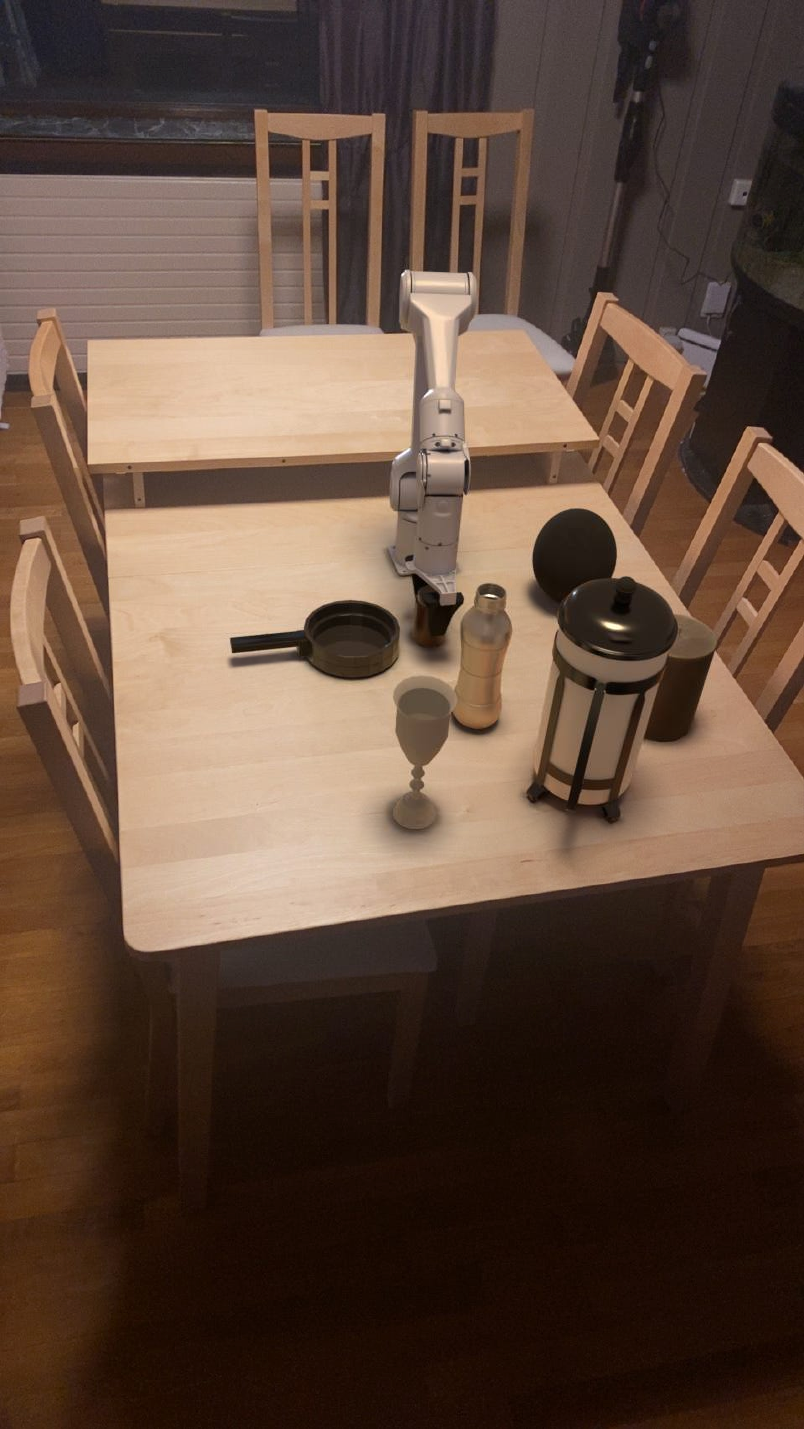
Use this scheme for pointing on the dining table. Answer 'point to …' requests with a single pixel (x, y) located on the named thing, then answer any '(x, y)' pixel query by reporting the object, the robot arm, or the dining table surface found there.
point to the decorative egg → (573, 552)
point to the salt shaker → (424, 622)
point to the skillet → (352, 638)
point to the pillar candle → (682, 680)
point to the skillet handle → (270, 642)
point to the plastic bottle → (482, 658)
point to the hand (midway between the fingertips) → (430, 618)
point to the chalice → (420, 740)
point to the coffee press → (601, 691)
